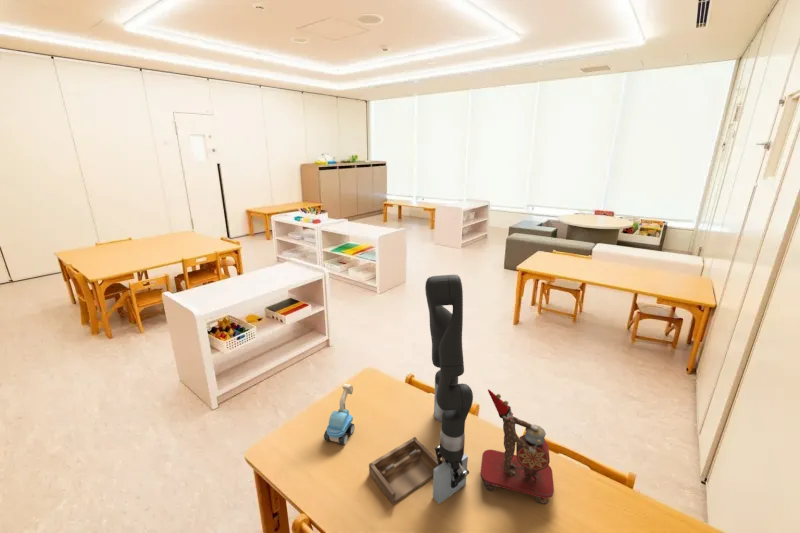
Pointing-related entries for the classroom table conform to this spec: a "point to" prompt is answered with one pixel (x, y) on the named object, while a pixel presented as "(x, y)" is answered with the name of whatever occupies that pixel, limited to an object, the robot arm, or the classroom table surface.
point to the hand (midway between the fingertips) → (450, 482)
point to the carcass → (403, 469)
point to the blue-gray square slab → (446, 481)
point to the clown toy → (519, 458)
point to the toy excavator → (340, 421)
